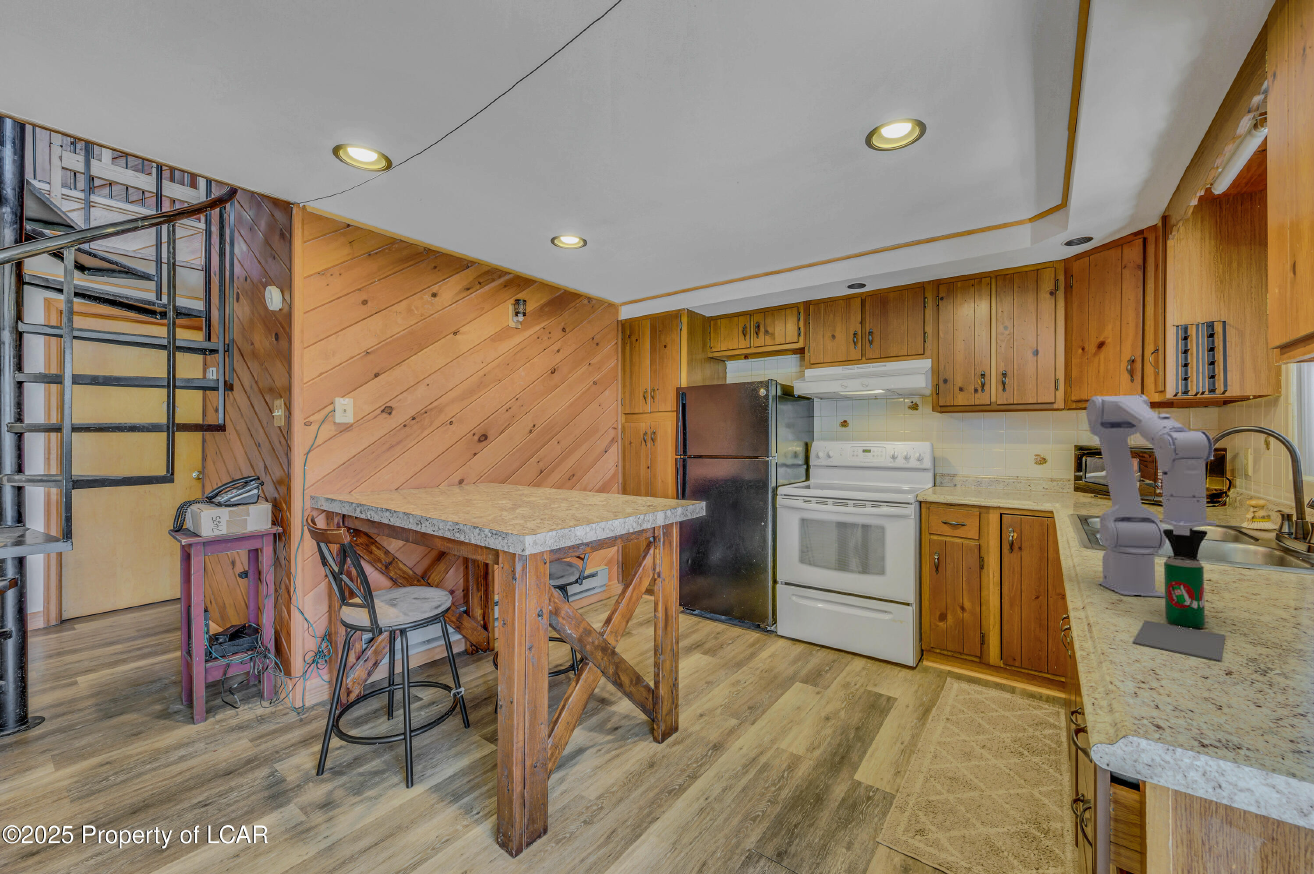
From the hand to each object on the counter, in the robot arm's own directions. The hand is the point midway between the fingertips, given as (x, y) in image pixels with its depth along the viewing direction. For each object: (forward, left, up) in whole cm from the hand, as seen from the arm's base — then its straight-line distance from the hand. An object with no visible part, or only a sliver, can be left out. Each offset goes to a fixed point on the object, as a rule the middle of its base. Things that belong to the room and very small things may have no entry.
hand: (1185, 568), depth 97 cm
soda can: (+3, -2, -10) cm, 10 cm away
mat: (+12, -8, -9) cm, 17 cm away
